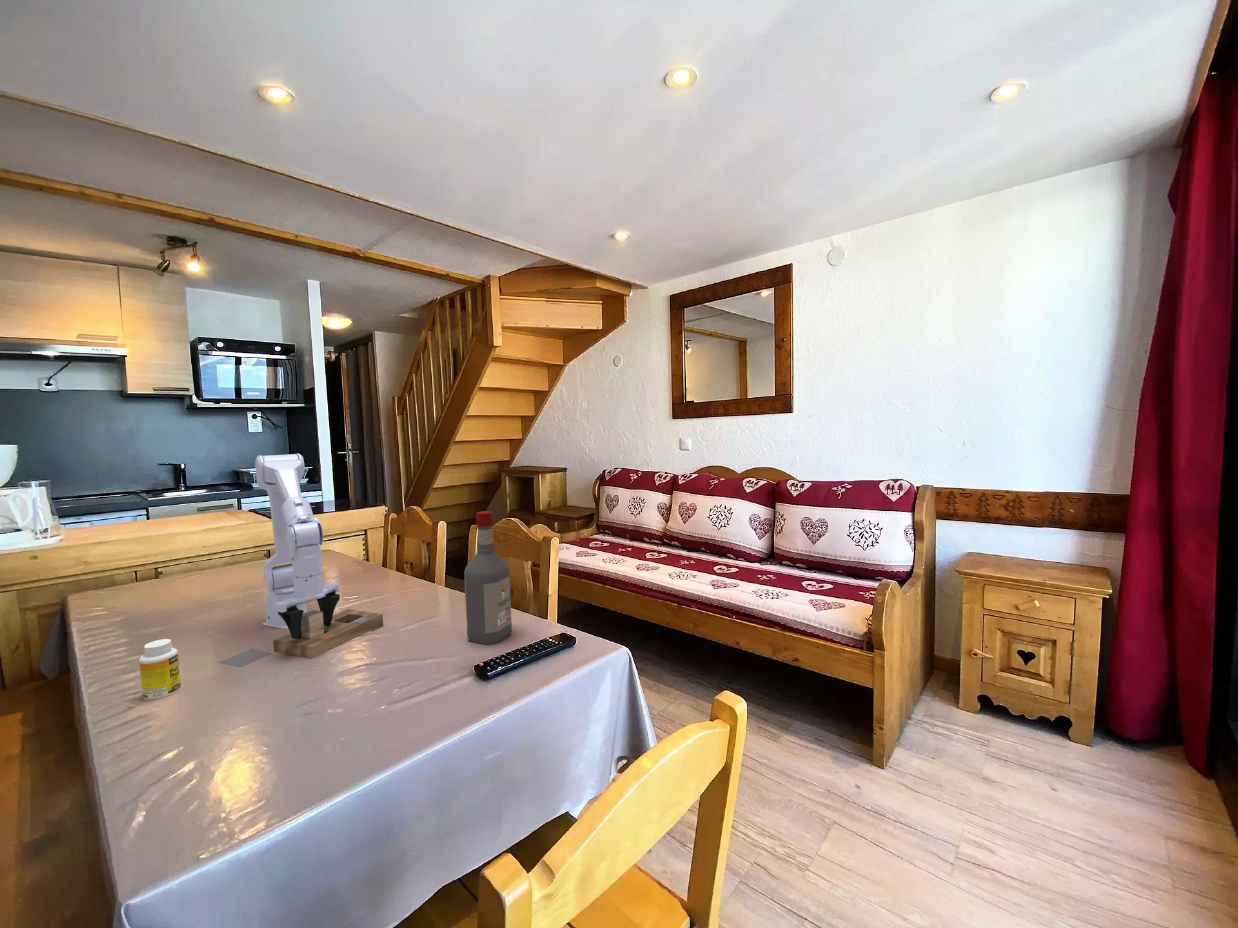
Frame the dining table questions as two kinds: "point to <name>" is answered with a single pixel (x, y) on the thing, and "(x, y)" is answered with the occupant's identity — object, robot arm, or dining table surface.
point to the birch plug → (312, 624)
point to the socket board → (331, 634)
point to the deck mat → (245, 658)
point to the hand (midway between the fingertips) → (312, 631)
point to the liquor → (487, 589)
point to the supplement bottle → (159, 670)
